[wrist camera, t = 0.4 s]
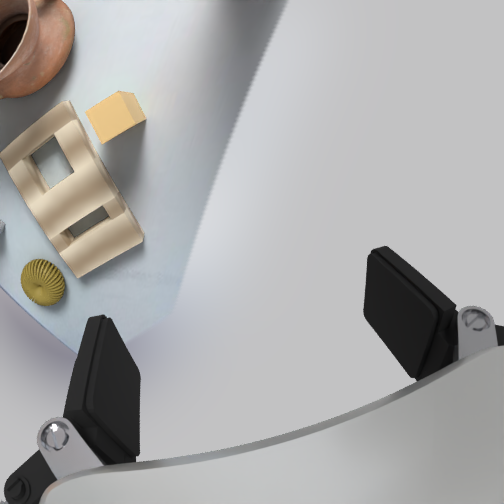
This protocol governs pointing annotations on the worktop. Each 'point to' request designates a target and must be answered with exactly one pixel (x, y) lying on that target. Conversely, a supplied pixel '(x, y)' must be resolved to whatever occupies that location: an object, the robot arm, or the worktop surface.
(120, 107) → the peg
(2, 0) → the ceramic jug
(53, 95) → the worktop surface
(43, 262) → the sculpture
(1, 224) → the lighter
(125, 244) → the socket board
